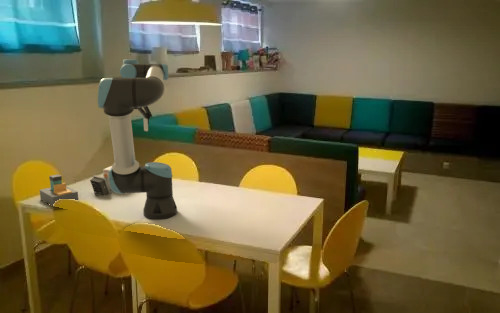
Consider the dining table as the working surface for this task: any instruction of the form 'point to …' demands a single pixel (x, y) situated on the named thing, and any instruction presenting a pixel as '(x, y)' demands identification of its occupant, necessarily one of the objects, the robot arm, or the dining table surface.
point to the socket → (52, 197)
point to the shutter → (61, 189)
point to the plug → (55, 181)
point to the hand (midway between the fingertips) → (134, 132)
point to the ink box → (107, 176)
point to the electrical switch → (100, 185)
